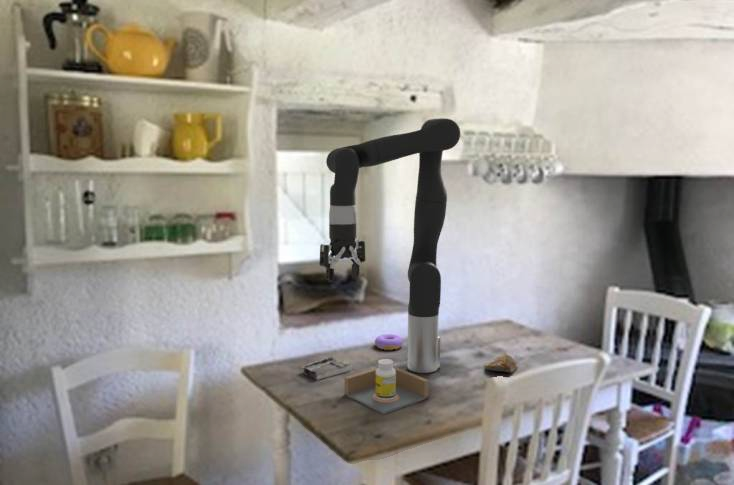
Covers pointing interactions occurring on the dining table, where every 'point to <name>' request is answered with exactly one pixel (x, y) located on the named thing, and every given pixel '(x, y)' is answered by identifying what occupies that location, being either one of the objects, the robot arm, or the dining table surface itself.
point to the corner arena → (407, 390)
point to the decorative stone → (502, 364)
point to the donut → (389, 341)
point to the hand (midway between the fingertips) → (343, 279)
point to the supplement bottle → (385, 380)
